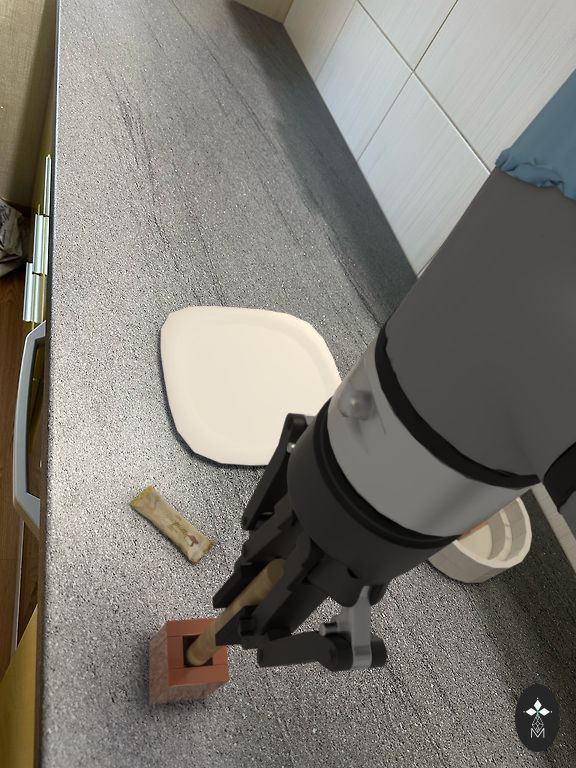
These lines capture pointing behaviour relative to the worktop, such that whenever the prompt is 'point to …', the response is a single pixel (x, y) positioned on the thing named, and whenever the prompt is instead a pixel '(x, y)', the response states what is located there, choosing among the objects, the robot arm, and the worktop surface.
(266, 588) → the stick
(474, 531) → the block
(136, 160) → the worktop surface
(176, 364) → the plate
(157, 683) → the holder
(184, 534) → the snack bar
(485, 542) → the bowl
